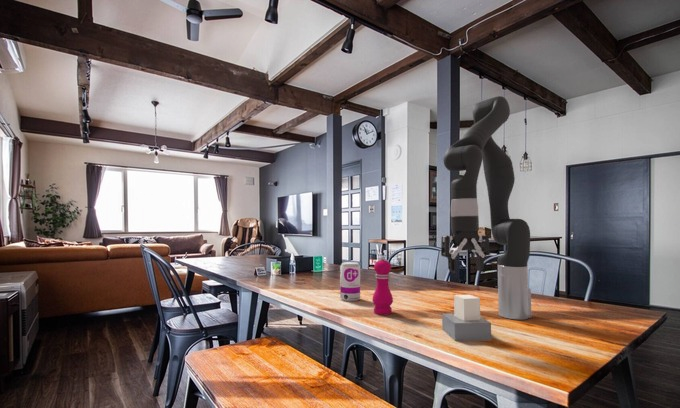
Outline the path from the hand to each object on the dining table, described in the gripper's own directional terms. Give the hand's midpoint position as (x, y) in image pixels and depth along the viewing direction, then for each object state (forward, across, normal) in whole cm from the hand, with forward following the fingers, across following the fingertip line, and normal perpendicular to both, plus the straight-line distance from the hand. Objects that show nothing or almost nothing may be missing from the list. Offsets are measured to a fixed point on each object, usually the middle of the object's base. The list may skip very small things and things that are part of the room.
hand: (466, 271), depth 99 cm
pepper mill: (+18, +15, -28) cm, 37 cm away
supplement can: (+18, +21, -52) cm, 58 cm away
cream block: (+13, 0, 0) cm, 13 cm away
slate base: (+18, +1, 0) cm, 18 cm away
